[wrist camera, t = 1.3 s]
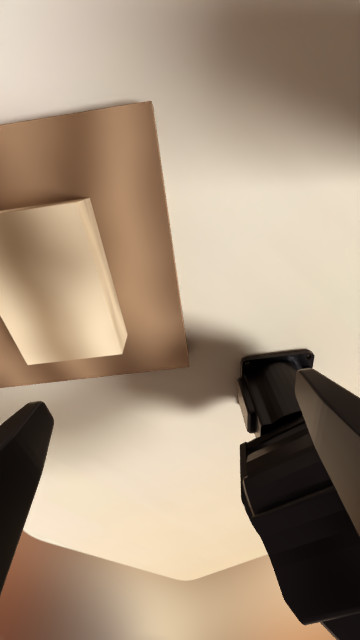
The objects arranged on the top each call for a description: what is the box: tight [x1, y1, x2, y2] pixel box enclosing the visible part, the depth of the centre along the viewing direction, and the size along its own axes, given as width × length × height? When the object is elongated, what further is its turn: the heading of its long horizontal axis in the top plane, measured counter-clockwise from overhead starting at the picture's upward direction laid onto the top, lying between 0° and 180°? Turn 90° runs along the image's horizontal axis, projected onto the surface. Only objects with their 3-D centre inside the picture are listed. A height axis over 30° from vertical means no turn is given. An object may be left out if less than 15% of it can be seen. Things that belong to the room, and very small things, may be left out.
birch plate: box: [0, 198, 128, 365], centre depth 17 cm, size 7×10×2 cm
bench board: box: [0, 101, 189, 388], centre depth 19 cm, size 24×18×2 cm
